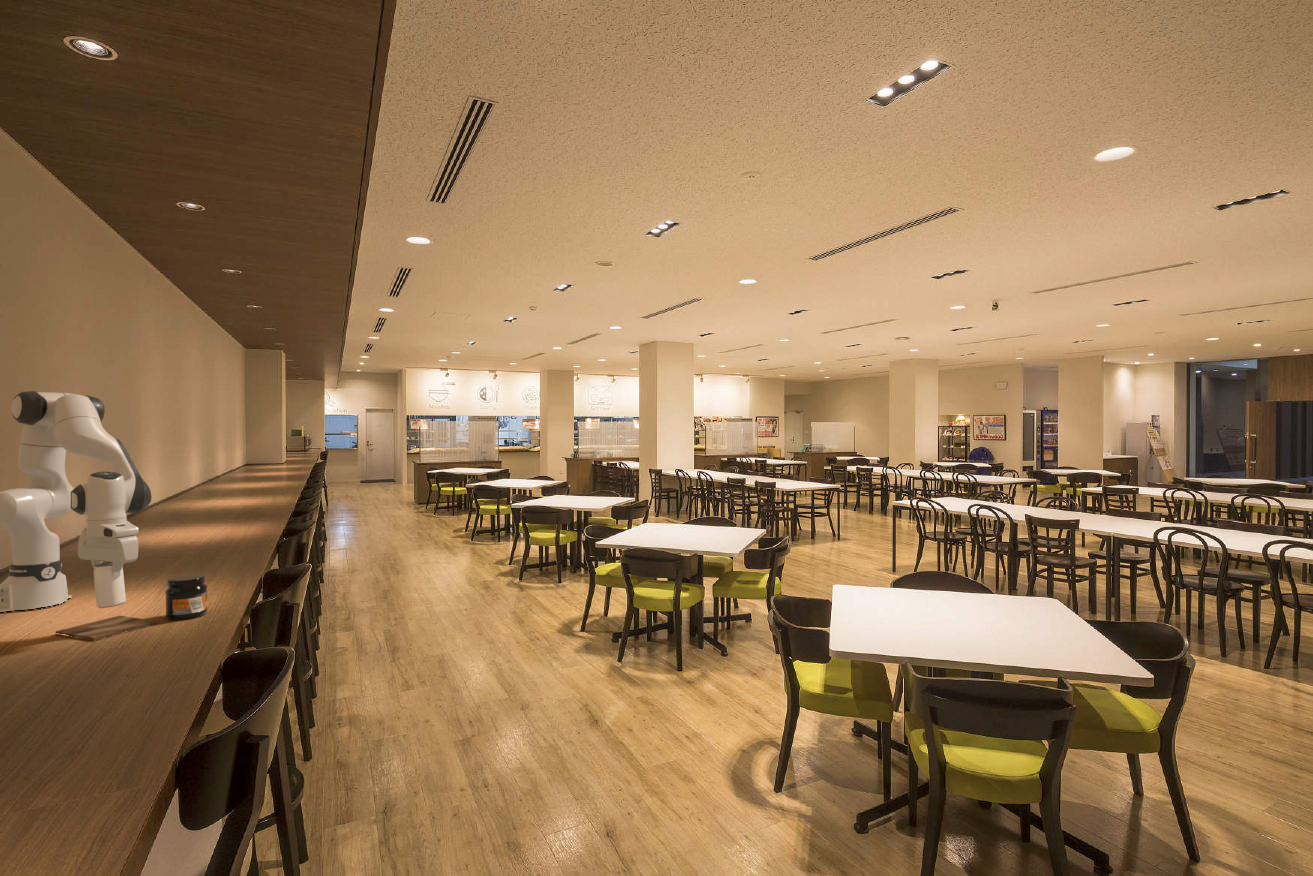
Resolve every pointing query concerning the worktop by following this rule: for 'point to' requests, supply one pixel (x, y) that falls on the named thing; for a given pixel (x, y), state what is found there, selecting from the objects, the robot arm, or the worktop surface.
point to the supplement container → (186, 597)
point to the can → (108, 586)
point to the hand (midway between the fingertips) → (107, 576)
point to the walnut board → (106, 627)
